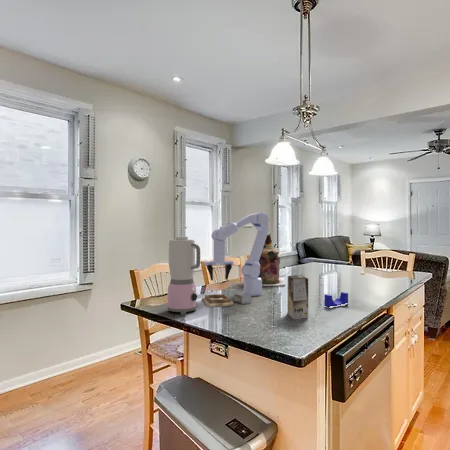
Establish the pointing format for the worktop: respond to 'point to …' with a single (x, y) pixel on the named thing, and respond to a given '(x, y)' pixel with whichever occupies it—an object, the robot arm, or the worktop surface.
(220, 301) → the tray
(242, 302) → the block
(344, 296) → the cable clip
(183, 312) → the blender
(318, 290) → the worktop surface
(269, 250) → the cookie jar
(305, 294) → the coffee box
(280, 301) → the worktop surface
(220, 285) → the worktop surface
